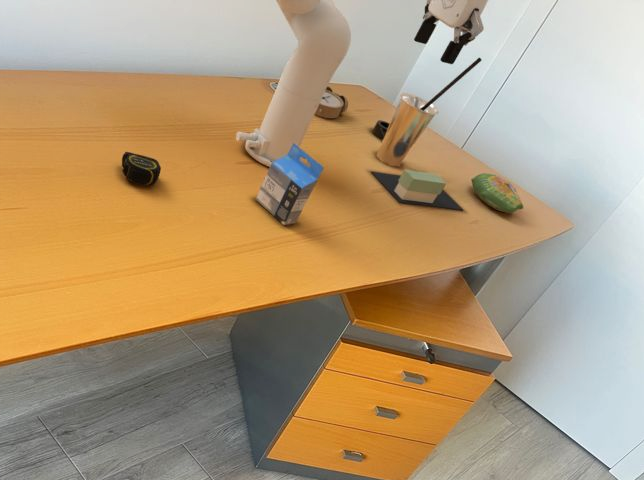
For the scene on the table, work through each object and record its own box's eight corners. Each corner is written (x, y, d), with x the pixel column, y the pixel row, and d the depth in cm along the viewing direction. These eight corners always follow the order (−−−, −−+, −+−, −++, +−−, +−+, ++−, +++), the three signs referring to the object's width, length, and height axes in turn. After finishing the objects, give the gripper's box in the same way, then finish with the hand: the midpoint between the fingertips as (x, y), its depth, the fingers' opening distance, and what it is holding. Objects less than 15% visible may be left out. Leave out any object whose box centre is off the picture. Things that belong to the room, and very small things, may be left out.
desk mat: (399, 202, 158) (399, 201, 158) (370, 172, 167) (371, 171, 166) (462, 210, 167) (463, 209, 167) (432, 181, 175) (433, 180, 175)
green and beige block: (401, 199, 159) (413, 178, 156) (392, 190, 162) (404, 169, 158) (433, 203, 163) (446, 183, 160) (424, 194, 166) (437, 174, 163)
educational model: (477, 210, 170) (490, 191, 167) (460, 180, 182) (472, 161, 179) (522, 225, 172) (536, 207, 169) (502, 194, 184) (515, 176, 181)
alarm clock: (295, 89, 185) (328, 77, 193) (289, 106, 189) (322, 94, 197) (327, 110, 181) (360, 97, 189) (321, 127, 184) (353, 113, 193)
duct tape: (362, 131, 186) (368, 121, 185) (376, 126, 194) (381, 116, 192) (387, 145, 184) (392, 135, 182) (400, 139, 191) (405, 129, 190)
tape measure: (155, 174, 131) (160, 157, 129) (156, 193, 126) (163, 174, 124) (119, 165, 129) (125, 147, 127) (120, 184, 124) (125, 165, 122)
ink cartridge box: (253, 199, 136) (279, 142, 129) (267, 198, 139) (293, 141, 131) (283, 226, 132) (311, 168, 124) (296, 223, 134) (325, 167, 127)
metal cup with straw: (412, 178, 172) (482, 59, 153) (370, 161, 172) (435, 40, 153) (409, 161, 181) (476, 46, 162) (369, 145, 180) (431, 28, 161)
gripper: (441, -58, 135) (396, 31, 145) (495, -27, 123) (442, 67, 134) (469, -48, 138) (423, 38, 149) (524, -17, 127) (470, 74, 137)
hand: (432, 52), depth 141 cm, fingers open, 9 cm apart
